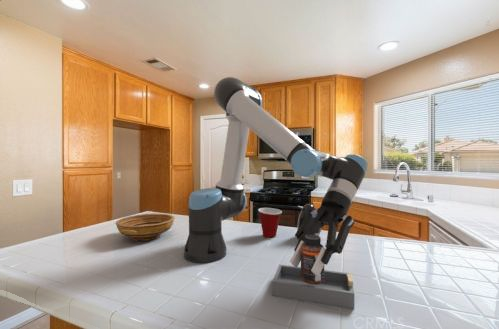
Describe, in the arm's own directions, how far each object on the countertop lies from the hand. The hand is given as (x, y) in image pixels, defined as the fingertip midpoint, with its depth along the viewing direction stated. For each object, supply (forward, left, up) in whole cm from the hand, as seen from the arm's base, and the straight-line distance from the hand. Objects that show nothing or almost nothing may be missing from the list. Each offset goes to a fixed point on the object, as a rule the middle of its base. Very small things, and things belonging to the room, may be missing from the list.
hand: (303, 269), depth 60 cm
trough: (+2, +3, -7) cm, 8 cm away
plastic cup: (-18, +45, -7) cm, 49 cm away
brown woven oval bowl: (-71, +28, -7) cm, 77 cm away
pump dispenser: (-1, +47, -7) cm, 47 cm away
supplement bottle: (+2, +3, -4) cm, 5 cm away
